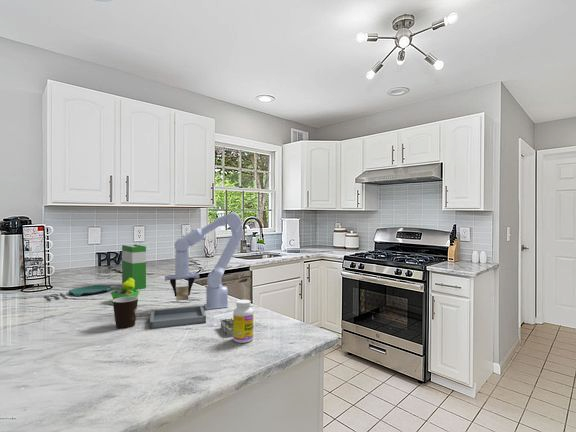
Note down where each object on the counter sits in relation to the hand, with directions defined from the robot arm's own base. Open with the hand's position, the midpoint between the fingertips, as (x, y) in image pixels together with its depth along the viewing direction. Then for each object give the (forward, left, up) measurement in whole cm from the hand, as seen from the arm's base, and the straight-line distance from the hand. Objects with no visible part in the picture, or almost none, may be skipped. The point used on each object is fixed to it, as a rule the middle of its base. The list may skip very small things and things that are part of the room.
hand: (182, 295), depth 146 cm
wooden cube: (0, 0, -2) cm, 2 cm away
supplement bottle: (-18, +46, -6) cm, 50 cm away
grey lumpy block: (-16, +36, -6) cm, 40 cm away
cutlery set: (+51, -48, -6) cm, 70 cm away
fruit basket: (+25, -21, -6) cm, 33 cm away
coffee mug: (+20, +16, -6) cm, 26 cm away
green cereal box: (+25, -56, -6) cm, 62 cm away
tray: (+2, +16, -6) cm, 17 cm away
